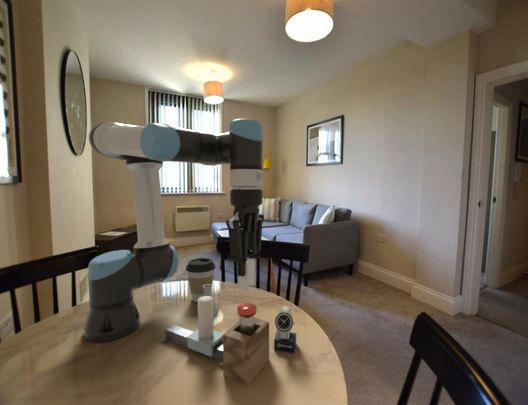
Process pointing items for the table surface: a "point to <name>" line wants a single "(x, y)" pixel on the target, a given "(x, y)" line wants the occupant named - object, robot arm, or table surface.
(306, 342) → the table surface
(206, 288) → the flask
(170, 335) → the rail
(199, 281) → the coffee cup
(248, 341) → the wooden button housing
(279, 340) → the watch
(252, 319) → the button plunger
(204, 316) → the carriage
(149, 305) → the table surface
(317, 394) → the table surface
